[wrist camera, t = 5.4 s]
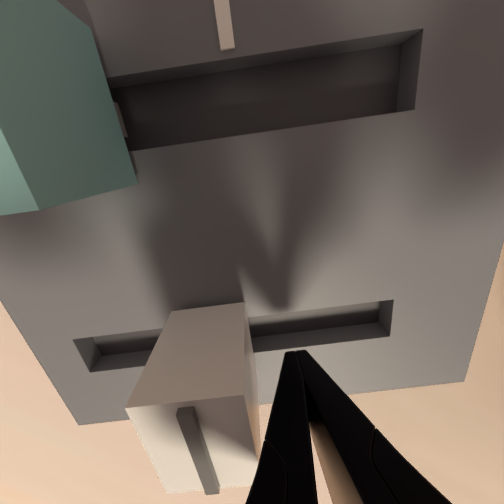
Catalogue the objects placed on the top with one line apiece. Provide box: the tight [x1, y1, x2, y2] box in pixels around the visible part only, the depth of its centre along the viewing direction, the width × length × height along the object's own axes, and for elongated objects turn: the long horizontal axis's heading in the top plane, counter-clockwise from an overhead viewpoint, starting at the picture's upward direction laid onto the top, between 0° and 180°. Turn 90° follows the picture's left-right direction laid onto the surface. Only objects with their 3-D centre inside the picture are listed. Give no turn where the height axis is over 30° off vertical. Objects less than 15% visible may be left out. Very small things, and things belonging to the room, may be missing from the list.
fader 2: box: [125, 302, 261, 495], centre depth 9 cm, size 3×4×5 cm
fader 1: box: [0, 0, 138, 216], centre depth 6 cm, size 3×4×5 cm
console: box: [0, 0, 504, 425], centre depth 10 cm, size 20×18×2 cm
